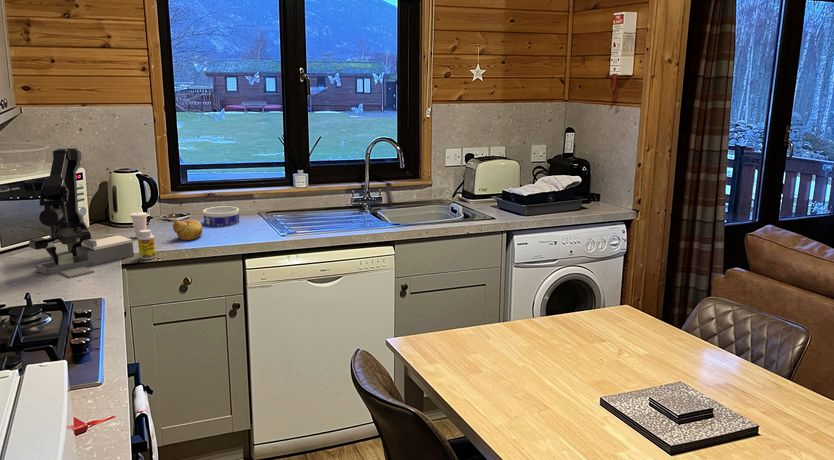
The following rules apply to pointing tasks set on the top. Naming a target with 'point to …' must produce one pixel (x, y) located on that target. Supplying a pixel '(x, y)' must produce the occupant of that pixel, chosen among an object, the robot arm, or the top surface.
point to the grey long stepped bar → (89, 258)
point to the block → (64, 258)
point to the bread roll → (187, 229)
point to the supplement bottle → (146, 245)
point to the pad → (76, 272)
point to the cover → (105, 242)
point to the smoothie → (139, 221)
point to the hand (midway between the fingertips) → (64, 263)
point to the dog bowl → (221, 216)
